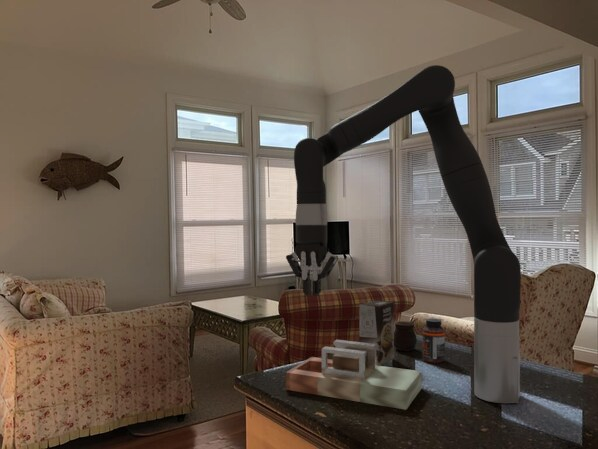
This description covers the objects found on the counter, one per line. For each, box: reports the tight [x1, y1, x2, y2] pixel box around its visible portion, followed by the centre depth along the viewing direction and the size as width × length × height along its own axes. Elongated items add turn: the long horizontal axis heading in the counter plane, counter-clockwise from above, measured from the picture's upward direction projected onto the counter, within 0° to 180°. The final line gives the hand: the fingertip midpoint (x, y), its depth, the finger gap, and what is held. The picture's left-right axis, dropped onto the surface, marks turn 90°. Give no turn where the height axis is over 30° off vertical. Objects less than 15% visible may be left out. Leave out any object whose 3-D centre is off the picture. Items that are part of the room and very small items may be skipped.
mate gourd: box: [394, 317, 418, 352], centre depth 149 cm, size 7×8×10 cm
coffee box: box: [358, 299, 395, 366], centre depth 137 cm, size 9×6×16 cm
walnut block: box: [332, 354, 366, 371], centre depth 115 cm, size 6×6×4 cm
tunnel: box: [321, 339, 376, 380], centre depth 115 cm, size 10×9×6 cm
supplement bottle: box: [422, 318, 446, 364], centre depth 137 cm, size 6×6×11 cm
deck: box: [285, 356, 422, 411], centre depth 115 cm, size 28×14×4 cm, turn 64°
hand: (311, 295), depth 119 cm, fingers closed
